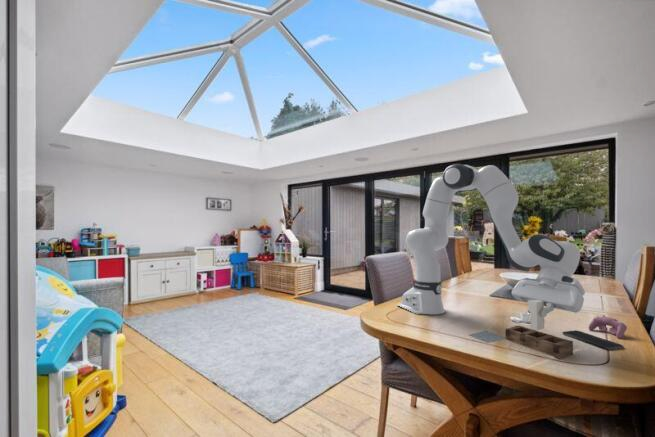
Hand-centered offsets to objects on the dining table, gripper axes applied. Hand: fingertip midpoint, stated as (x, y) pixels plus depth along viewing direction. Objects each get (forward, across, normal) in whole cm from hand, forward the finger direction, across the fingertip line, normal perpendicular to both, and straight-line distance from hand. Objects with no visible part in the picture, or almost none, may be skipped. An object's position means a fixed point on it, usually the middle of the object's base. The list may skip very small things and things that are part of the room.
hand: (535, 314), depth 98 cm
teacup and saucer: (-9, -20, +25) cm, 33 cm away
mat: (+12, -13, +3) cm, 18 cm away
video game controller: (-18, +4, +34) cm, 39 cm away
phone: (-8, +5, +24) cm, 26 cm away
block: (+3, 0, +4) cm, 5 cm away
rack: (+7, 0, +8) cm, 11 cm away
